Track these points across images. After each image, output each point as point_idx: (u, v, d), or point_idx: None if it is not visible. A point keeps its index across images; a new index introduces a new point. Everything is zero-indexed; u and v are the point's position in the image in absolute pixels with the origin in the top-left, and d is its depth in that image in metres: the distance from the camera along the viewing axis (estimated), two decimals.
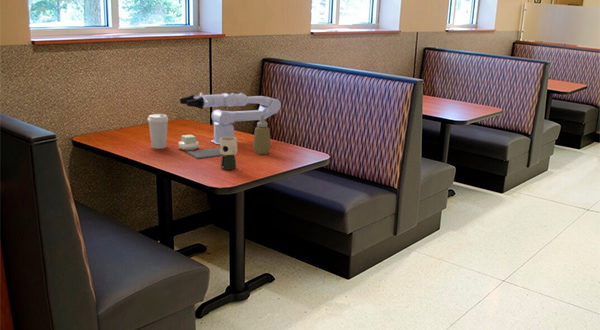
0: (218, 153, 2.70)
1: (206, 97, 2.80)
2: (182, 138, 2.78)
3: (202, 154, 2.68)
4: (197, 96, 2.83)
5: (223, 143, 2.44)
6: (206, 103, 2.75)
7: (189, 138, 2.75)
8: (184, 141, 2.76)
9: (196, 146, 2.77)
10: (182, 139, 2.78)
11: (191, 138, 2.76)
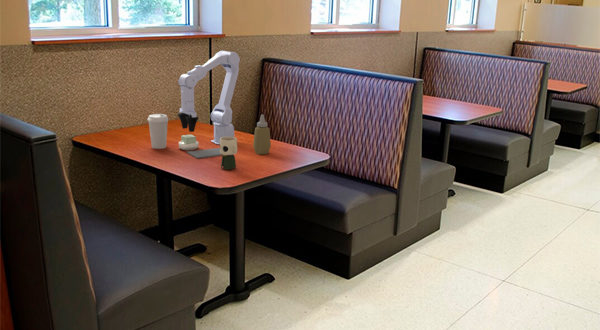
0: (218, 153, 2.70)
1: (185, 108, 2.71)
2: (182, 138, 2.78)
3: (202, 154, 2.68)
4: None
5: (223, 143, 2.44)
6: (194, 115, 2.69)
7: (189, 138, 2.75)
8: (184, 141, 2.76)
9: (196, 146, 2.77)
10: (182, 139, 2.78)
11: (191, 138, 2.76)
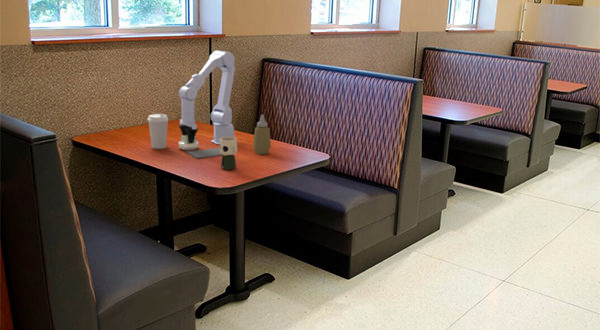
0: (218, 153, 2.70)
1: (185, 120, 2.73)
2: (182, 138, 2.77)
3: (202, 154, 2.68)
4: None
5: (223, 143, 2.44)
6: (194, 127, 2.70)
7: None
8: (184, 141, 2.76)
9: (196, 146, 2.77)
10: (182, 139, 2.77)
11: None
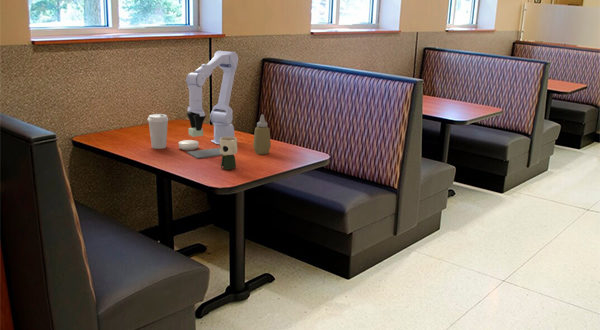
0: (218, 153, 2.70)
1: (193, 107, 2.68)
2: (189, 131, 2.73)
3: (202, 154, 2.68)
4: None
5: (223, 143, 2.44)
6: (202, 114, 2.65)
7: (196, 131, 2.71)
8: (191, 134, 2.71)
9: (196, 146, 2.77)
10: (189, 132, 2.73)
11: (198, 131, 2.71)
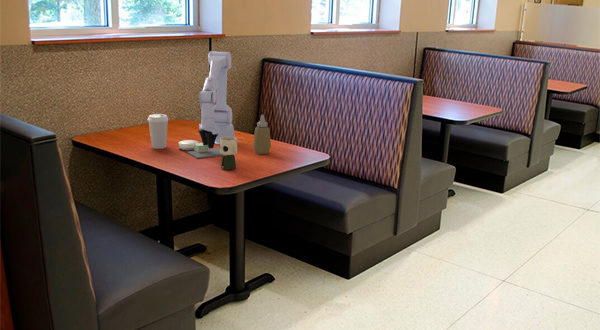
0: (218, 153, 2.70)
1: (205, 124, 2.65)
2: (194, 146, 2.73)
3: (202, 154, 2.68)
4: None
5: (223, 143, 2.44)
6: (214, 132, 2.63)
7: (201, 146, 2.71)
8: (196, 149, 2.72)
9: None
10: (194, 147, 2.73)
11: (203, 146, 2.71)
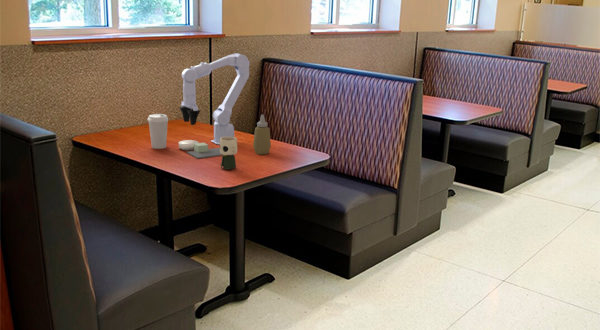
0: (218, 153, 2.70)
1: (187, 102, 2.79)
2: (194, 146, 2.73)
3: (202, 154, 2.68)
4: None
5: (223, 143, 2.44)
6: (195, 109, 2.76)
7: (201, 146, 2.71)
8: (196, 149, 2.72)
9: None
10: (194, 147, 2.73)
11: (203, 146, 2.72)
